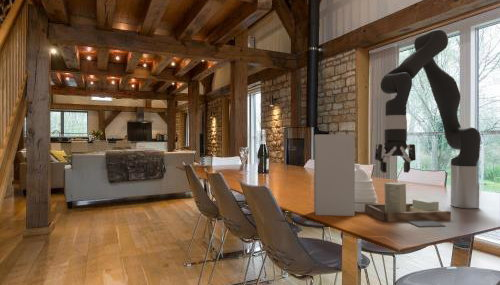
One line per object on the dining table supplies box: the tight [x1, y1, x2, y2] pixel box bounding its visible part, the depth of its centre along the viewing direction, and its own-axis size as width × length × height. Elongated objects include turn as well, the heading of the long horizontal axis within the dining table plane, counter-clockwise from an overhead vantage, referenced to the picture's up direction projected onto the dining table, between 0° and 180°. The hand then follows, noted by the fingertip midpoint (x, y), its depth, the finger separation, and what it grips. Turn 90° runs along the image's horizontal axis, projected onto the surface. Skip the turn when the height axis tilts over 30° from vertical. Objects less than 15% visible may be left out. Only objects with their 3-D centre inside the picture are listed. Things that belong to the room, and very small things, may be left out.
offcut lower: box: [410, 207, 441, 212], centre depth 121 cm, size 7×9×3 cm
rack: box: [364, 203, 452, 223], centre depth 120 cm, size 24×15×3 cm, turn 95°
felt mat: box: [405, 220, 446, 228], centre depth 108 cm, size 9×7×1 cm
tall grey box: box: [313, 134, 356, 217], centre depth 123 cm, size 14×6×30 cm, turn 84°
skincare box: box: [383, 181, 407, 212], centre depth 119 cm, size 6×4×12 cm
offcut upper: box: [412, 198, 440, 211], centre depth 121 cm, size 5×7×3 cm
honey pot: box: [355, 163, 378, 213], centre depth 133 cm, size 13×13×18 cm
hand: (395, 172), depth 119 cm, fingers open, 8 cm apart
